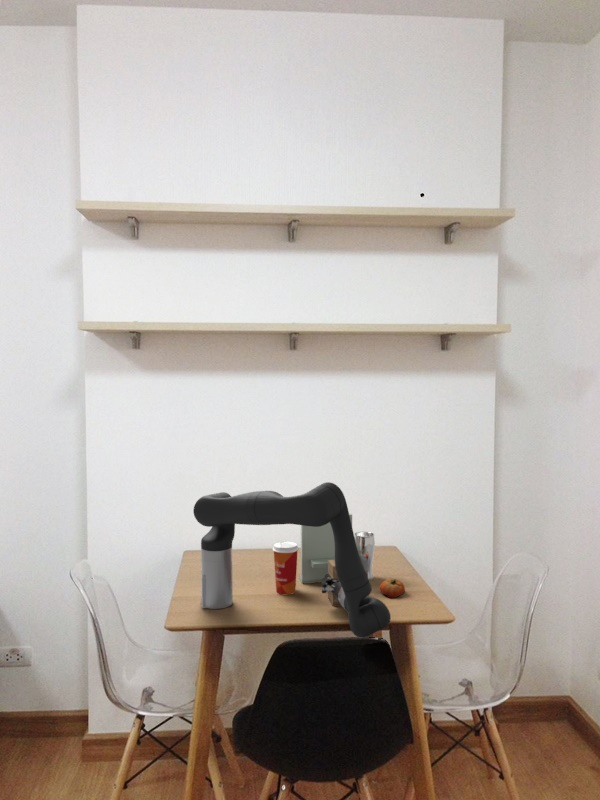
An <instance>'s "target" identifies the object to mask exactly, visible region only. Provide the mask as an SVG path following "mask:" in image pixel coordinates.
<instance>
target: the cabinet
mask: <svg viewBox="0 0 600 800" xmlns="http://www.w3.org/2000/svg"><path fill="white" fill-rule="evenodd" d="M328 574H329V575H330V576H331V578H337V579H338V576H337V572H336V568H335V560H328ZM328 599H329V600H328ZM327 600H328V601H329V603H330V604H331V606H332V607H338V606H341V607H342V605H341V604H340V602H339V601H338V600H337V598H336V596H335V594H334V593H332V592H331V591H327Z"/></svg>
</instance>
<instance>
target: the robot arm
mask: <svg viewBox="0 0 600 800" xmlns="http://www.w3.org/2000/svg"><path fill="white" fill-rule="evenodd" d="M193 516H194V518H195V520H196V521H197V522H198V523H199V524H200V525H202V526H204V527H207V528H210V527H211V528H210V530H209V531H208V532H207V533H206V534H204V536H203V537H202V538H201V541H200V549H201V550H200V557H201V558H200V562H201V563H200V564H201V566H200V568H201V569H200V589H201V590H200V594H201V595H200V596H201V597H200V599H201V608H202V609H210V610H211V609H212V610H217V609H218V610H219V609H224V608H228V607H230V606H232V605H233V601H234V600H233V597H234V595H233V592H234V591H233V540H234V538H235V532H236V525H244V526H245V525H247V526H270V525H271V526H272V525H275V526H276V525H295V526H296V525H299V526H301V525H304V526H311V527H320V526H323V525H326V524H327V523H329V522H330V524H331V527H332V530H333V534H334V542H335V568H336V572H337V576H338V579H337V578H331V576H330V575H329V574H326V575H325V578H322V582H321V593H322V594H327V593H328V591H331V592H332V593H334V594H335V596H336V598H337V600H338V601H339V602H340V604H341V605H342V606H341V607H342V608H343V609H344V610H345V611H346V612H347V616H348V625H349V628H350V631H351V632H352V634H353V635H354V636H355V637H357V638H359V637H364V638H367V637H368V636H371V635H373V634H375V633H376V632H377V633H378V632H379V631H381V630H383V629H386V628H387V627H388V626H389V625H390V622H391V613H390V610H389V609H388V607H387V606H386V604H385V603H384V602H383V601H381V600H380V599H378V598H376V597H373V596H370V594H371V593H372V589H373V588H372V585H371V583H370V581H369V580H368V577H367V574H366V572H365V569H364V567H363V564H362V562H361V559H360V556H359V553H358V550H357V546H356V542H355V538H354V536H355V532H354V530H353V523H352V524H351V520H350V516H349V508H348V503H347V500H346V497H345V494H344V492H343V491H342V490H341V488H340V487H339V486H338V485H336V483H333V482H330V481H329V482H328V481H327V482H323V483H321V484H319V485H317V486H316V487H314V488H312V489H311V490H309V491H307V492H305V493H302V494H300V495H294V496H293V495H292V496H283V495H282V494H280V493H279V492H277V491H274V490H261V491H260V490H258V491H257V490H256V491H251V492H246V493H241V494H237V495H230V494H229V493H228V492H217V493H213V494H206V495H203V496H201V497H200V498H199V499H198V500H196V502H195V504H194V506H193Z"/></svg>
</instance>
